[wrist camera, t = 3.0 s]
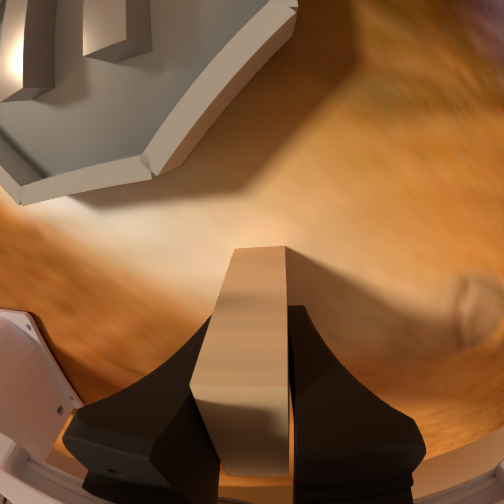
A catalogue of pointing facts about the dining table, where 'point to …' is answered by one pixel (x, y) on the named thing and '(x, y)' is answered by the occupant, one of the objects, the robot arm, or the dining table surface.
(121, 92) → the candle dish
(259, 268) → the pine wood chunk
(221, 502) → the coffee pot
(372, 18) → the dining table surface
